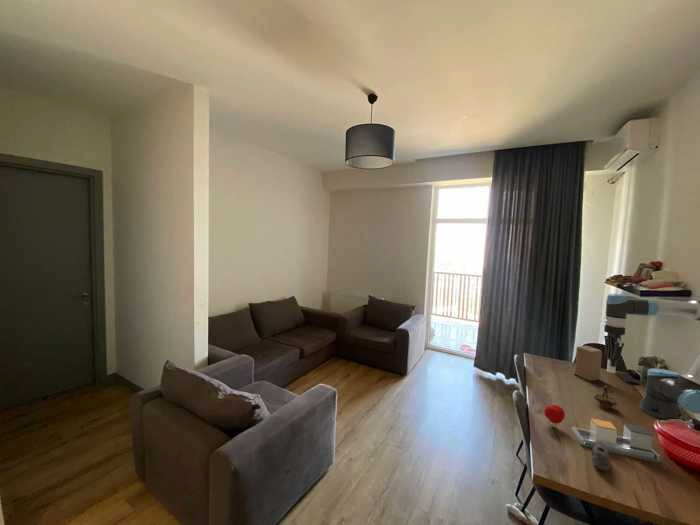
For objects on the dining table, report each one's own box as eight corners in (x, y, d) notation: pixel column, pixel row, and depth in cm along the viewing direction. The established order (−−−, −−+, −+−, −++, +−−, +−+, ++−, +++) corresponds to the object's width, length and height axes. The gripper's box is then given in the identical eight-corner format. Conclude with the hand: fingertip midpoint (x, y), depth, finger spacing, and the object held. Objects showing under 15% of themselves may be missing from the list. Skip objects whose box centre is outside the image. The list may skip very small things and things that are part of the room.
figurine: (593, 406, 155) (594, 384, 154) (593, 400, 161) (595, 380, 160) (617, 413, 148) (619, 391, 148) (617, 407, 154) (619, 386, 154)
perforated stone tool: (592, 449, 121) (593, 434, 120) (608, 456, 117) (610, 439, 117) (590, 469, 110) (591, 452, 109) (608, 477, 106) (610, 459, 106)
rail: (643, 446, 124) (645, 424, 123) (659, 462, 114) (661, 439, 114) (571, 431, 132) (573, 411, 132) (581, 445, 123) (582, 423, 122)
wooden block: (573, 375, 194) (575, 346, 193) (584, 373, 197) (586, 345, 196) (589, 381, 185) (592, 351, 184) (600, 380, 188) (602, 350, 186)
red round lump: (552, 433, 131) (554, 412, 130) (538, 423, 138) (540, 403, 137) (568, 430, 133) (569, 409, 133) (553, 421, 140) (555, 401, 140)
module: (608, 439, 126) (610, 422, 125) (615, 447, 121) (617, 429, 120) (589, 435, 128) (590, 418, 128) (595, 443, 123) (596, 425, 123)
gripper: (599, 321, 148) (595, 365, 149) (612, 327, 135) (608, 376, 137) (617, 323, 145) (613, 368, 147) (632, 329, 133) (628, 379, 134)
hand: (610, 372), depth 142 cm, fingers closed
